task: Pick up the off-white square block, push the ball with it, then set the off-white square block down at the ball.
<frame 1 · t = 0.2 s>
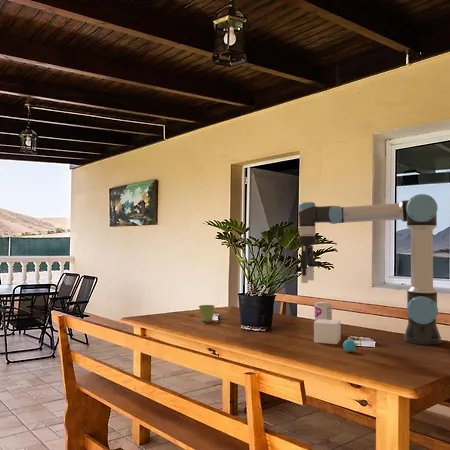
hand: (307, 281, 217), 27 cm above the table, tool pointing down, fingers open, 13 cm apart
plant pot: (206, 321, 269), on the table
supplement can: (323, 333, 231), on the table
off-white square block: (327, 340, 213), on the table
ball: (349, 345, 192), on the table
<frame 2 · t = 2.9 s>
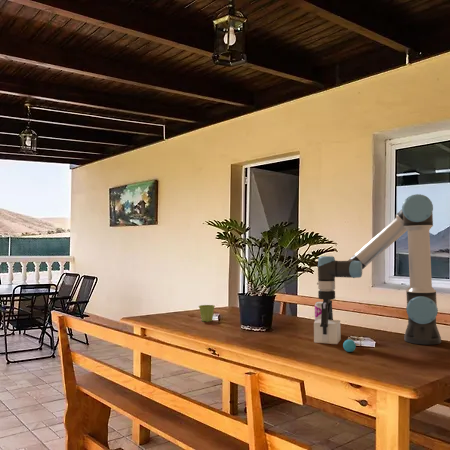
hand: (327, 339, 213), 1 cm above the table, tool pointing down, fingers closed on off-white square block, 10 cm apart
off-white square block: (327, 340, 213), on the table, touching gripper
everything else where it was.
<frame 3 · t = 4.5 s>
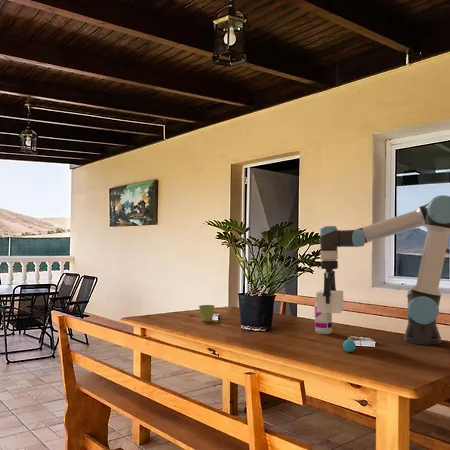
hand: (330, 309, 212), 15 cm above the table, tool pointing down, fingers closed on off-white square block, 10 cm apart
off-white square block: (330, 311, 212), point 14 cm above the table, touching gripper
everything else where it was.
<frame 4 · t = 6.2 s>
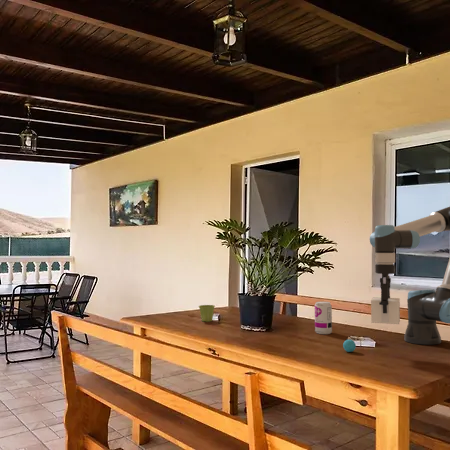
hand: (386, 319, 187), 14 cm above the table, tool pointing down, fingers closed on off-white square block, 10 cm apart
off-white square block: (385, 321, 187), point 13 cm above the table, touching gripper
everything else where it was.
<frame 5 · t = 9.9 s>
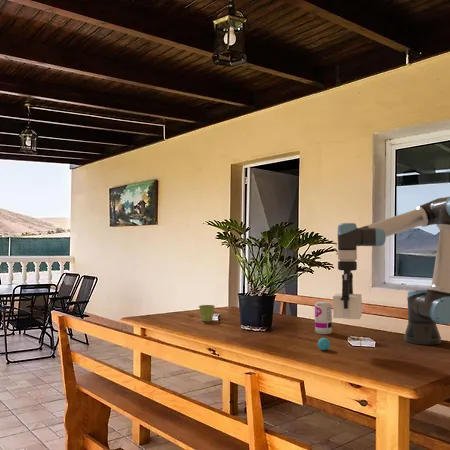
hand: (347, 314, 192), 15 cm above the table, tool pointing down, fingers closed on off-white square block, 10 cm apart
off-white square block: (347, 316, 192), point 14 cm above the table, touching gripper
ball: (323, 344, 195), on the table
everything else where it was.
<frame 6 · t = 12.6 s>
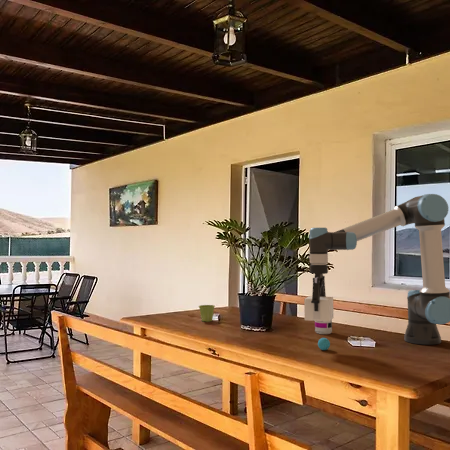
hand: (319, 317, 197), 14 cm above the table, tool pointing down, fingers closed on off-white square block, 10 cm apart
off-white square block: (319, 318, 197), point 13 cm above the table, touching gripper
everything else where it was.
when the fingers open (1 cm above the table, at t = 15.2 s): off-white square block stays where it is, on the table.
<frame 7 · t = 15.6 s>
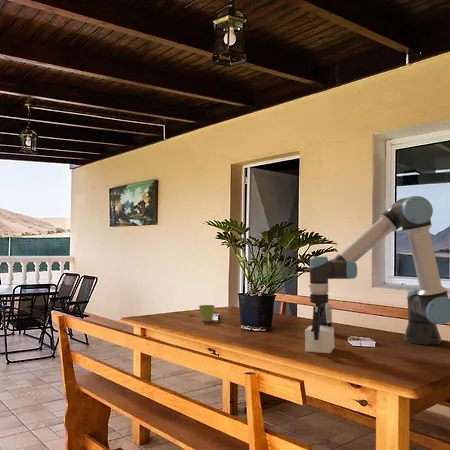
hand: (320, 344, 196), 2 cm above the table, tool pointing down, fingers open, 13 cm apart
off-white square block: (320, 349, 196), on the table
everything else where it was.
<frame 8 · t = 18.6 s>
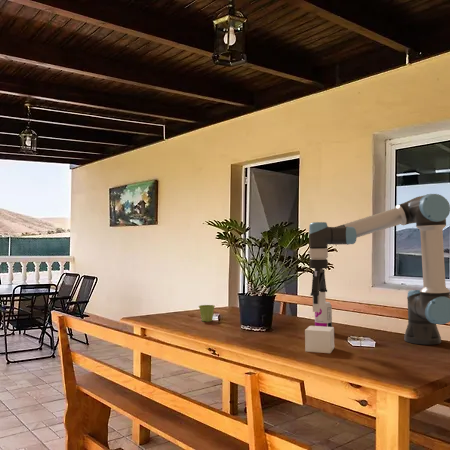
hand: (319, 309, 197), 17 cm above the table, tool pointing down, fingers open, 13 cm apart
nothing on the table moved.
at the end: ball 1.7 cm from the off-white square block (horizontally); off-white square block on the table; ball moved 10.4 cm from its start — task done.
